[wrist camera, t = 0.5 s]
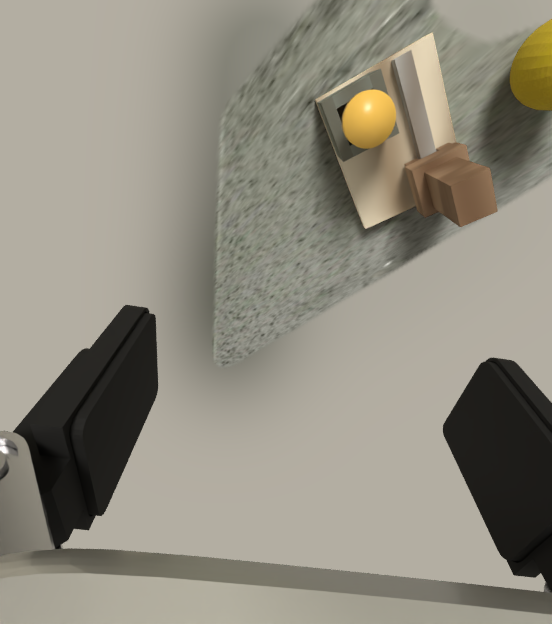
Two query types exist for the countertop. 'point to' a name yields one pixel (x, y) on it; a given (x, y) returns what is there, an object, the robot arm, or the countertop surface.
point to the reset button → (368, 118)
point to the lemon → (534, 70)
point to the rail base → (404, 137)
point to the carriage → (451, 185)
